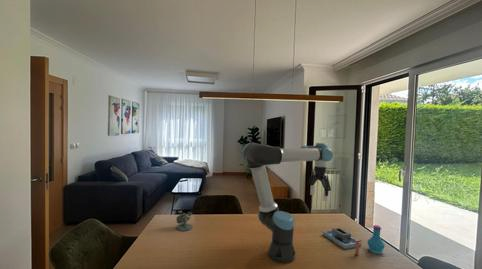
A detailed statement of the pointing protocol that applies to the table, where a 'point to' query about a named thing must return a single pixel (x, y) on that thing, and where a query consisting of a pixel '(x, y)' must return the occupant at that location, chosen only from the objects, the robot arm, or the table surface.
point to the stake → (357, 246)
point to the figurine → (182, 219)
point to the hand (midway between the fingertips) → (318, 197)
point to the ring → (341, 235)
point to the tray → (344, 246)
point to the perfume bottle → (376, 241)
